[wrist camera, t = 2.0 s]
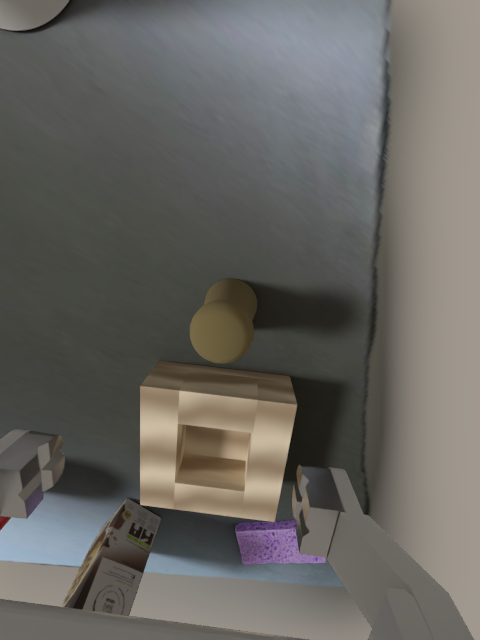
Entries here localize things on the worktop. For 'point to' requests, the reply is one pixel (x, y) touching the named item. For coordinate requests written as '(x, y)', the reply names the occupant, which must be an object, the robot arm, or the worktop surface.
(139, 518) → the coffee box
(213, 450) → the socket block
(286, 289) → the worktop surface
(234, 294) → the olive chess pawn
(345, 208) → the worktop surface
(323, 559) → the sponges
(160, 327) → the worktop surface
